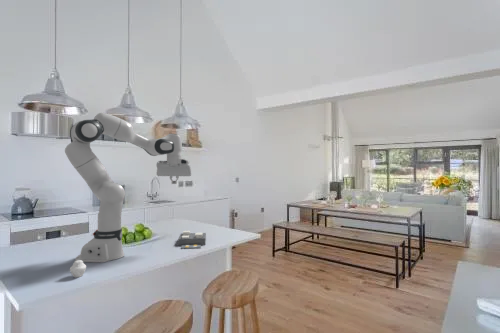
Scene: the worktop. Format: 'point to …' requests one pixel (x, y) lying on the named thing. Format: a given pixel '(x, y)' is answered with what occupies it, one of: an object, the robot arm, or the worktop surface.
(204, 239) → the button board
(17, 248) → the worktop surface
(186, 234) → the button back left
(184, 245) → the pattern card
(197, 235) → the button front right
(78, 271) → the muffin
